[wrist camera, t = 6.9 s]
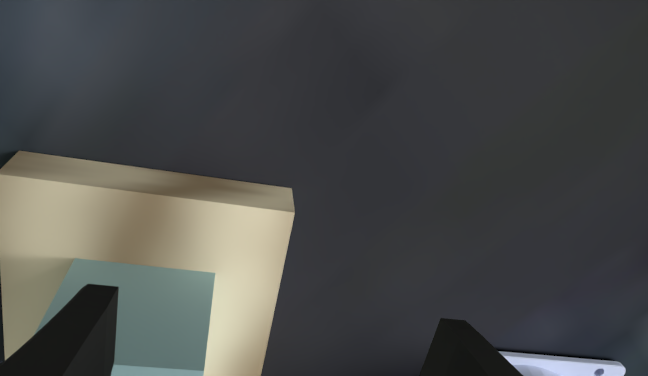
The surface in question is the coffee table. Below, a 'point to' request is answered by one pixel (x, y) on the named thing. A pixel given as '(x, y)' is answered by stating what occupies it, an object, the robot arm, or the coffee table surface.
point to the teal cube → (149, 315)
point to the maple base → (144, 243)
